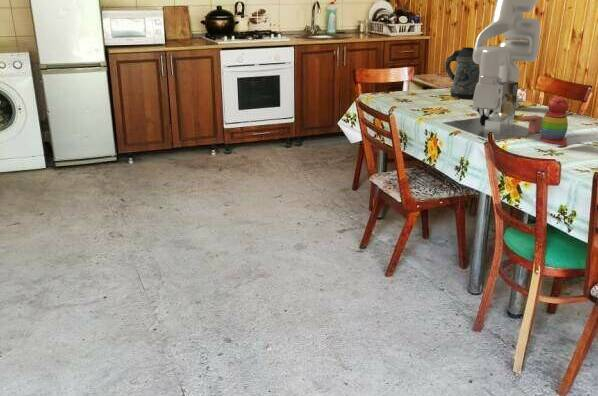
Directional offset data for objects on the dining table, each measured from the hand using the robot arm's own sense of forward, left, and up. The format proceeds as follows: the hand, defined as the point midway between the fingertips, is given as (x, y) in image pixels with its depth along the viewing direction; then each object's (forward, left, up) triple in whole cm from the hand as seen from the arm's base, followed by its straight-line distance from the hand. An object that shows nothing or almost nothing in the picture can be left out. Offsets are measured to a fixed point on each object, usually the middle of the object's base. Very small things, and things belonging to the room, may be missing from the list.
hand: (483, 125), depth 239 cm
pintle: (-10, 0, -2) cm, 10 cm away
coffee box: (-24, -15, -3) cm, 28 cm away
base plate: (-4, 0, -3) cm, 5 cm away
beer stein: (-39, -61, -3) cm, 72 cm away
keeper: (-12, +12, -2) cm, 17 cm away
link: (-5, +3, -2) cm, 6 cm away
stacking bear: (-12, +26, -3) cm, 29 cm away
